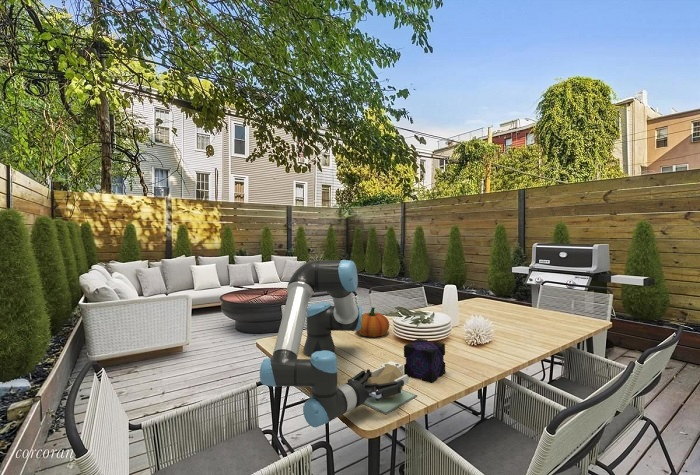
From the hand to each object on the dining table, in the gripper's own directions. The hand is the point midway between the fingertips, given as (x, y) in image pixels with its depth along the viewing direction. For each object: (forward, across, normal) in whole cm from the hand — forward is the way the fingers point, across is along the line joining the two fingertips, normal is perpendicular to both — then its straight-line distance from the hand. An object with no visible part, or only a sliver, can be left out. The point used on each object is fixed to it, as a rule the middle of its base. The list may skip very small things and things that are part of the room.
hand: (394, 374), depth 121 cm
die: (+8, -8, -7) cm, 13 cm away
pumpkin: (+48, -54, -7) cm, 72 cm away
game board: (-4, -6, -7) cm, 10 cm away
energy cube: (+22, -2, -7) cm, 23 cm away
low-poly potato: (-4, -1, -7) cm, 8 cm away
